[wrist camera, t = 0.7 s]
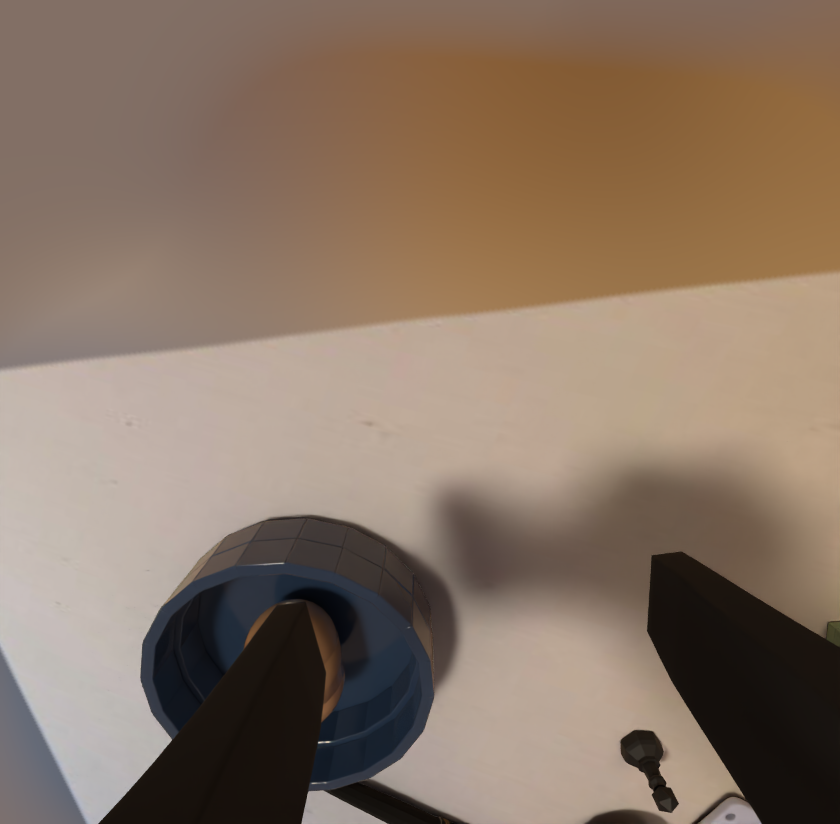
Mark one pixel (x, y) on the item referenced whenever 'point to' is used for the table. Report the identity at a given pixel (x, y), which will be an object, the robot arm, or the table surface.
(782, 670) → the robot arm
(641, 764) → the chess pawn
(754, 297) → the table surface
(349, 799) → the fountain pen
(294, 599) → the egg
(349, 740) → the basin
